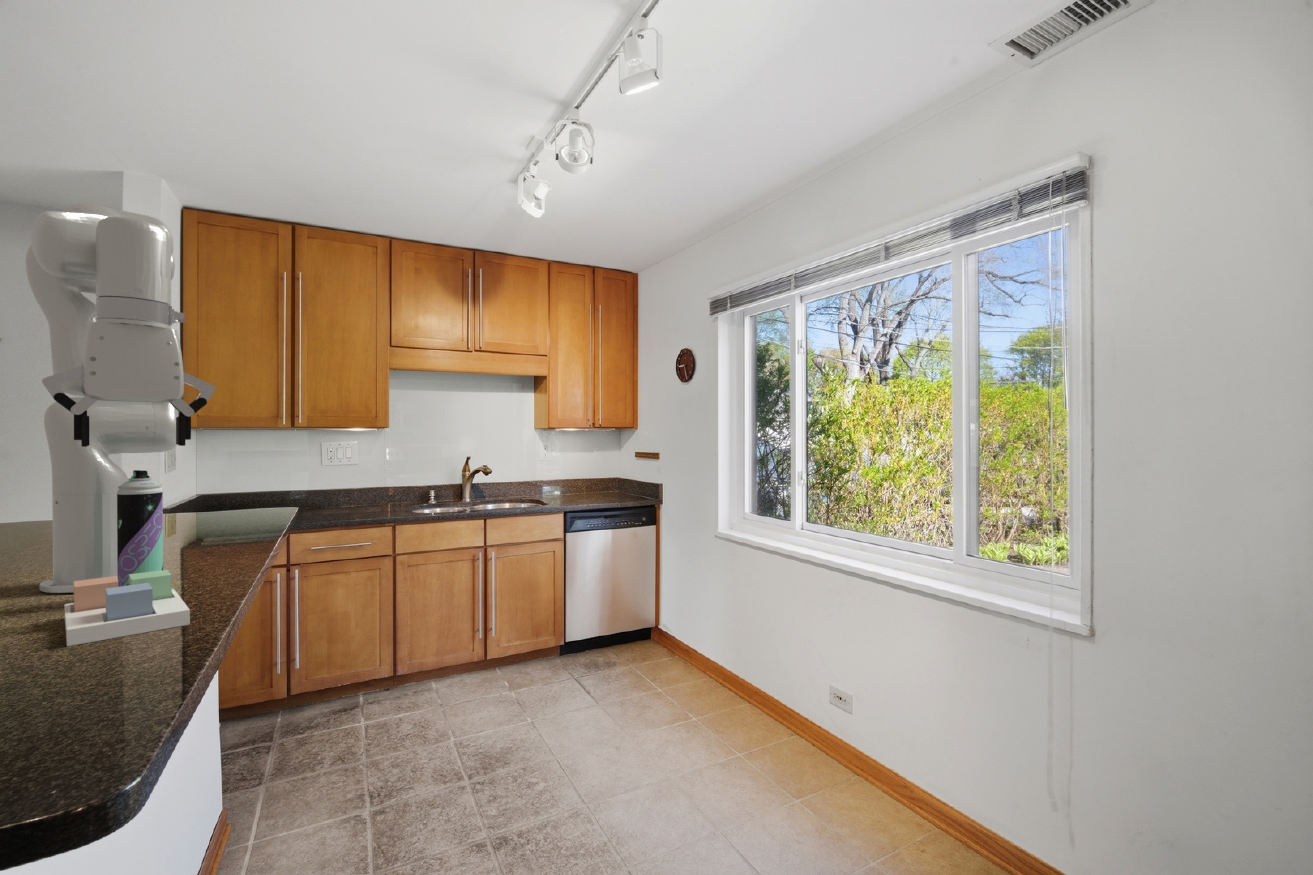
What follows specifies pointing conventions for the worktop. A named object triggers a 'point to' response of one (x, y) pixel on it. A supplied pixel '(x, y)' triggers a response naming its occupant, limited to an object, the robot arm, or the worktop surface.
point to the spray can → (139, 527)
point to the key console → (123, 621)
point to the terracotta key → (92, 593)
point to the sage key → (155, 583)
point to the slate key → (128, 601)
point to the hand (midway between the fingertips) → (135, 445)
